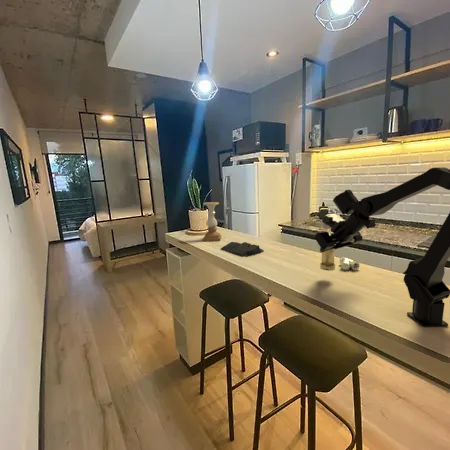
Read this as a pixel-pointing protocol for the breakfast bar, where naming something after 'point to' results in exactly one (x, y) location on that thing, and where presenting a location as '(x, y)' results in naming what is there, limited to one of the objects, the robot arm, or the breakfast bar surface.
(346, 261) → the pipe fitting
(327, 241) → the robot arm
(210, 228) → the candle holder
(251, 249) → the dark slate chunk
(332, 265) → the knob
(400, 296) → the breakfast bar surface
